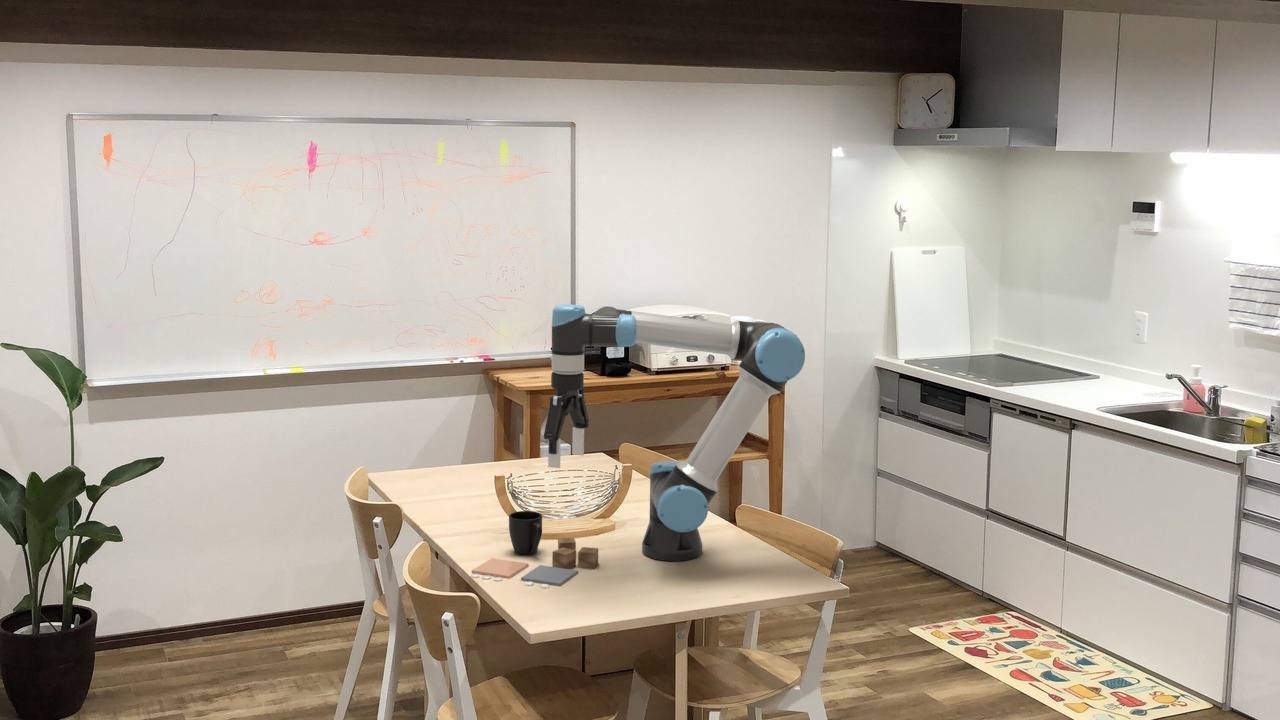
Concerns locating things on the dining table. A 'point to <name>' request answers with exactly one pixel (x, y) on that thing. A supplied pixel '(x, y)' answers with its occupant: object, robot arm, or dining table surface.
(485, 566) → the pad three
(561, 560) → the block
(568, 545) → the block
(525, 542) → the mug
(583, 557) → the block
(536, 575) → the pad two
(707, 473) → the robot arm
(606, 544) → the dining table surface
